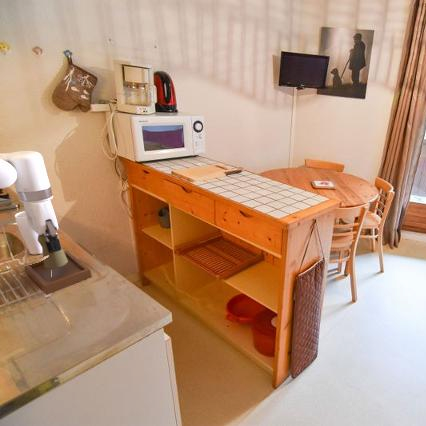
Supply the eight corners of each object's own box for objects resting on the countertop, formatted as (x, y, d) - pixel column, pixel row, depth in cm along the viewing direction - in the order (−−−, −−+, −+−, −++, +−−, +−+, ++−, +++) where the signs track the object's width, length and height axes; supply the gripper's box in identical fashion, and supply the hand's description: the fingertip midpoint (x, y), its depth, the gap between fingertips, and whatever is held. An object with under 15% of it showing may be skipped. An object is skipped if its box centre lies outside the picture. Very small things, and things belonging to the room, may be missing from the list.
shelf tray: (92, 277, 104) (90, 269, 102) (46, 294, 94) (44, 286, 93) (69, 257, 113) (67, 250, 111) (25, 271, 103) (23, 264, 102)
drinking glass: (50, 245, 119) (39, 208, 113) (52, 252, 115) (41, 214, 109) (26, 250, 115) (13, 212, 109) (27, 258, 110) (14, 219, 104)
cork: (46, 270, 98) (36, 239, 94) (42, 262, 102) (32, 232, 97) (70, 263, 102) (61, 233, 98) (65, 256, 106) (57, 226, 102)
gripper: (9, 189, 94) (26, 243, 101) (29, 205, 85) (47, 262, 92) (40, 184, 100) (55, 235, 107) (62, 198, 91) (76, 253, 98)
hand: (51, 247), depth 100 cm, fingers closed on cork, 5 cm apart
